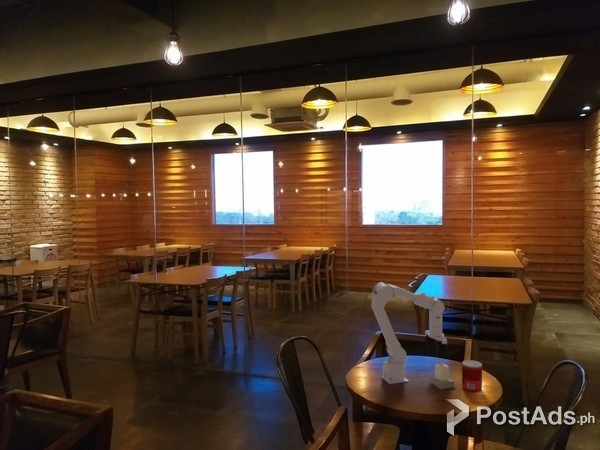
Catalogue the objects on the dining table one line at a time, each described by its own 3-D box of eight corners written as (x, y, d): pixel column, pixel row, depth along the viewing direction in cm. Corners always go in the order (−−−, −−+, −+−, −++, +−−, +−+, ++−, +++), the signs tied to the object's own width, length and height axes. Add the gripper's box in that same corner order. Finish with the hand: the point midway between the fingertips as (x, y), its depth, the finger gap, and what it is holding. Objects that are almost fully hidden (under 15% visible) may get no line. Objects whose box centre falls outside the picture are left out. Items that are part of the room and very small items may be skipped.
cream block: (440, 381, 189) (441, 367, 189) (434, 377, 193) (435, 364, 193) (448, 379, 191) (448, 366, 190) (442, 376, 194) (442, 363, 194)
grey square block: (440, 390, 187) (440, 383, 187) (430, 384, 194) (430, 377, 194) (454, 387, 189) (454, 381, 189) (443, 381, 196) (443, 375, 196)
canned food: (485, 391, 185) (486, 365, 184) (469, 393, 183) (469, 367, 182) (473, 383, 192) (474, 359, 192) (458, 386, 190) (458, 361, 189)
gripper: (453, 328, 193) (452, 359, 193) (434, 320, 207) (434, 348, 207) (438, 330, 191) (438, 361, 192) (421, 321, 205) (421, 350, 205)
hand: (435, 354), depth 199 cm, fingers open, 7 cm apart
